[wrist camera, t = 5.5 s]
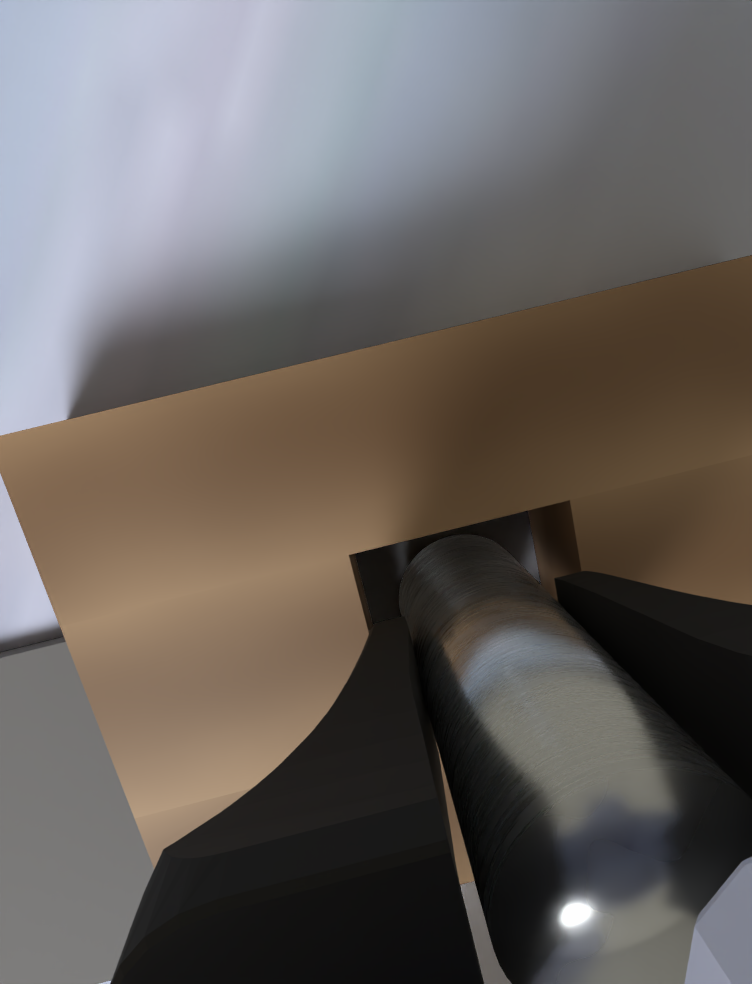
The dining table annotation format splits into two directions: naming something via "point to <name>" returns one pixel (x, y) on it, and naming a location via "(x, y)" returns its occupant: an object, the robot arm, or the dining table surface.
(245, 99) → the dining table surface
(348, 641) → the block
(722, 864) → the peg
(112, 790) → the mat
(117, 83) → the dining table surface
